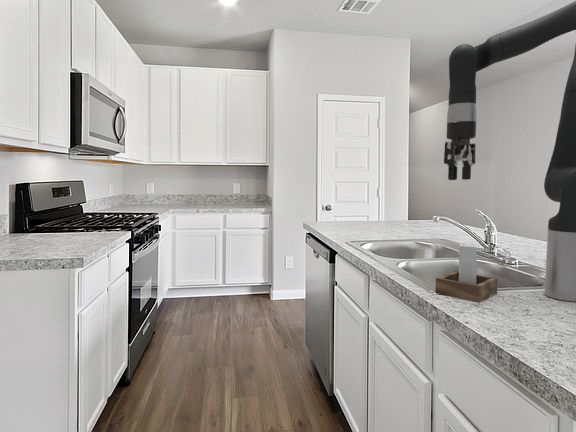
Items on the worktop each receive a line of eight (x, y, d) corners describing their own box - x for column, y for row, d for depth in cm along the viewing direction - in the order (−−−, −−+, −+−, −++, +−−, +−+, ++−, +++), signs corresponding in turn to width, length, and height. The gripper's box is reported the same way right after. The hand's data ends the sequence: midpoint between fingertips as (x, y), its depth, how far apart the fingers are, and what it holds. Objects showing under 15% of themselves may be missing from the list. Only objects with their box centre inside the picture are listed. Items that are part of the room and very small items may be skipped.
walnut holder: (454, 284, 115) (455, 271, 115) (496, 293, 107) (497, 278, 106) (435, 292, 108) (435, 278, 107) (478, 302, 99) (479, 286, 99)
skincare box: (476, 293, 103) (478, 247, 102) (457, 291, 105) (459, 246, 104) (475, 287, 109) (477, 243, 108) (457, 285, 111) (459, 242, 110)
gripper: (459, 124, 119) (457, 179, 121) (436, 120, 110) (434, 180, 111) (485, 122, 114) (483, 179, 115) (463, 117, 104) (461, 180, 106)
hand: (459, 179), depth 113 cm, fingers open, 8 cm apart
